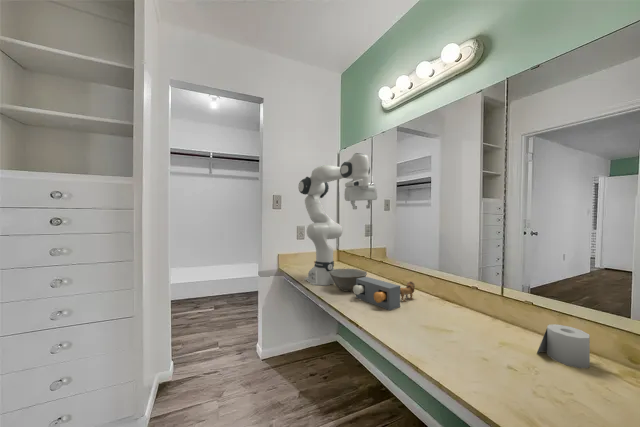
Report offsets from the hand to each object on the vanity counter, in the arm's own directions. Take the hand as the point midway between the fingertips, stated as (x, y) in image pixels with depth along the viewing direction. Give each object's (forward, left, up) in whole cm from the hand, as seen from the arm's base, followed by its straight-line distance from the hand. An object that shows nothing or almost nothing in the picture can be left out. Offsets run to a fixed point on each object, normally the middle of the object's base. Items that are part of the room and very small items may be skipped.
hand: (361, 208), depth 136 cm
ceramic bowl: (-14, +3, -48) cm, 50 cm away
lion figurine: (+17, +15, -48) cm, 53 cm away
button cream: (+4, -5, -44) cm, 45 cm away
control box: (+11, 0, -47) cm, 48 cm away
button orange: (+18, -5, -44) cm, 48 cm away
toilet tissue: (+78, +8, -48) cm, 91 cm away
